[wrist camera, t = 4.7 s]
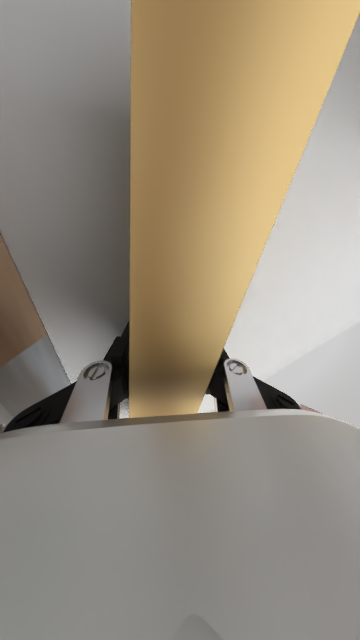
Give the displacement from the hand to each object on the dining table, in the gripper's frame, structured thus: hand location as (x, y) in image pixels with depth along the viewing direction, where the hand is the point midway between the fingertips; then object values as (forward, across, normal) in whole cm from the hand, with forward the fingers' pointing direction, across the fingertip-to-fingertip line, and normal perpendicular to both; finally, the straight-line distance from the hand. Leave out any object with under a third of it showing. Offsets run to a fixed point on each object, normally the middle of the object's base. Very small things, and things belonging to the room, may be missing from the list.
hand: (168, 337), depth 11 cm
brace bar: (+1, 0, 0) cm, 1 cm away
